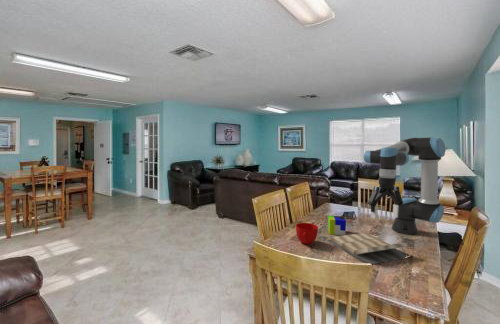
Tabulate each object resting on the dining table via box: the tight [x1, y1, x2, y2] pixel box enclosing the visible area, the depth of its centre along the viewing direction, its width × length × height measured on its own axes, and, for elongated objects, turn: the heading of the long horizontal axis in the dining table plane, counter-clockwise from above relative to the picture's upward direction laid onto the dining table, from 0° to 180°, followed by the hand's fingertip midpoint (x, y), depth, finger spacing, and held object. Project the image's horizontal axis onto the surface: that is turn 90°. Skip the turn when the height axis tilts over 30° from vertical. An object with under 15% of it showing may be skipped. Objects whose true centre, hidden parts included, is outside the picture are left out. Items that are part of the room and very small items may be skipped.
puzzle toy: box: [327, 215, 347, 236], centre depth 172 cm, size 10×10×10 cm
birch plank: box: [355, 242, 408, 254], centre depth 136 cm, size 26×10×2 cm, turn 108°
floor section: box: [327, 232, 414, 265], centre depth 146 cm, size 30×33×2 cm
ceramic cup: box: [295, 222, 319, 245], centre depth 152 cm, size 13×17×10 cm
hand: (384, 217), depth 133 cm, fingers open, 13 cm apart
